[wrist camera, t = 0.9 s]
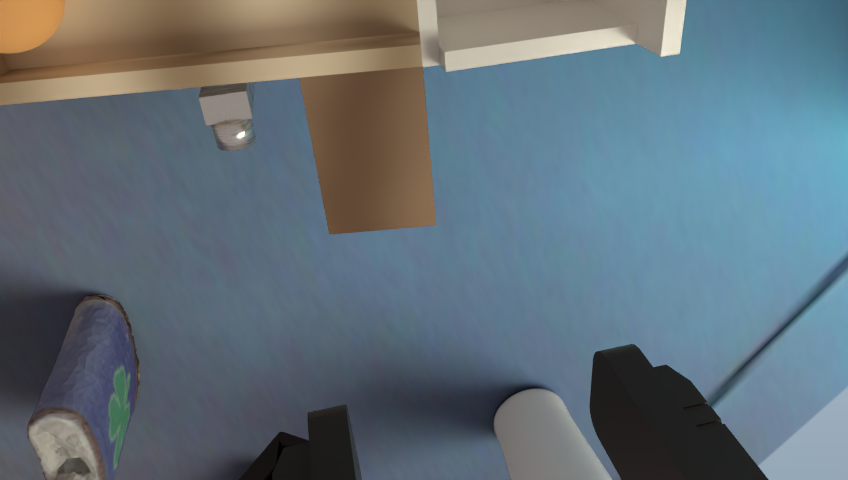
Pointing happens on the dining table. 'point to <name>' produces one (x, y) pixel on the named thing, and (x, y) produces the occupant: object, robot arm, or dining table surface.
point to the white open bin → (542, 29)
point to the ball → (28, 23)
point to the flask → (88, 395)
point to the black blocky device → (271, 457)
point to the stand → (229, 114)
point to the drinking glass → (544, 440)
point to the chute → (262, 61)
